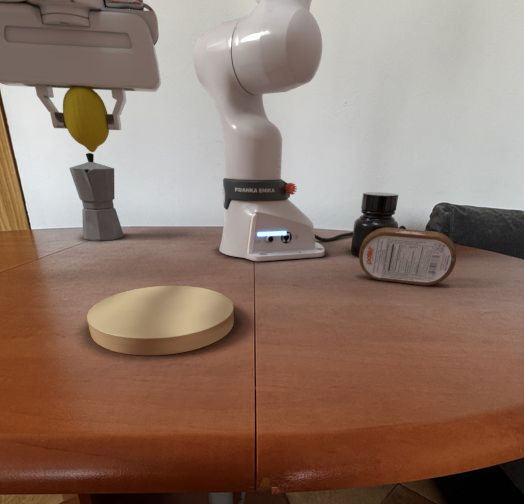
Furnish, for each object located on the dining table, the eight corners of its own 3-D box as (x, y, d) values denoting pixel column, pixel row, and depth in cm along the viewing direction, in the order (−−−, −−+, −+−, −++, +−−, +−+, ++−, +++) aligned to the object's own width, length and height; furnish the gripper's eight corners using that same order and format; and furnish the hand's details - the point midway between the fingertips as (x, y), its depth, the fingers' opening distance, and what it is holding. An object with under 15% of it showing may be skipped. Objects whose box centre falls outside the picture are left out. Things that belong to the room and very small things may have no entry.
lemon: (78, 151, 54) (66, 84, 50) (118, 152, 55) (108, 85, 51) (63, 151, 49) (48, 77, 46) (106, 152, 50) (95, 78, 46)
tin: (448, 284, 63) (461, 232, 59) (450, 290, 60) (464, 236, 56) (356, 274, 67) (363, 225, 63) (354, 279, 64) (361, 228, 60)
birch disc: (228, 297, 55) (227, 283, 54) (240, 350, 40) (240, 333, 39) (106, 301, 53) (104, 287, 52) (72, 360, 38) (67, 342, 37)
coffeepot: (121, 242, 86) (107, 153, 78) (76, 243, 84) (58, 152, 76) (127, 230, 99) (117, 153, 91) (89, 230, 97) (75, 152, 89)
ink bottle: (393, 251, 83) (403, 192, 78) (396, 261, 76) (408, 197, 70) (348, 248, 85) (355, 191, 80) (347, 257, 78) (355, 194, 72)
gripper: (158, 8, 48) (168, 132, 55) (-15, -4, 46) (17, 128, 52) (152, -10, 43) (165, 130, 49) (-45, -26, 40) (-5, 125, 47)
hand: (88, 129), depth 51 cm, fingers closed on lemon, 5 cm apart
